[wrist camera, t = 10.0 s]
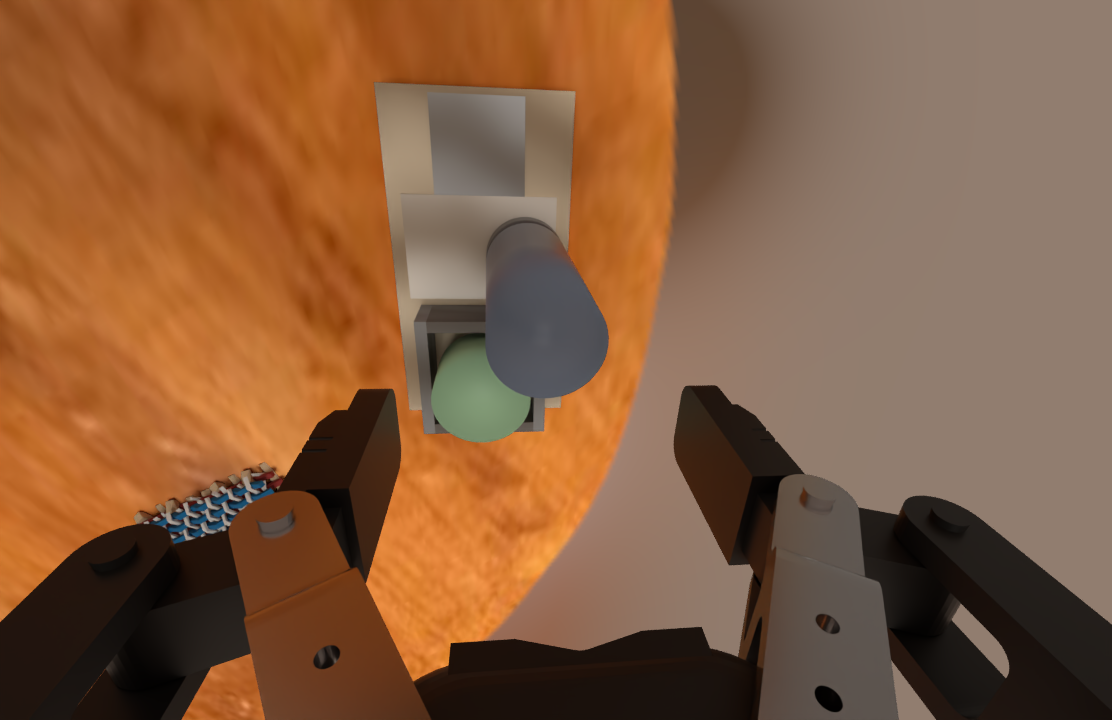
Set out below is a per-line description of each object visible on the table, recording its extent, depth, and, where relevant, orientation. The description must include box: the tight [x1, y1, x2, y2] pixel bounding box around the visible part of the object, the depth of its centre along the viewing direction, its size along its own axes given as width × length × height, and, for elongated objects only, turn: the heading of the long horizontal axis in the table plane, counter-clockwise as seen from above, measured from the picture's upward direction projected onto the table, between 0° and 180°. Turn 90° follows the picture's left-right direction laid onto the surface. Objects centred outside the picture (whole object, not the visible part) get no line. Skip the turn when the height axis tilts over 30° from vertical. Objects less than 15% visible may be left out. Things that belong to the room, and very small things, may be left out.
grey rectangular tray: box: [374, 82, 575, 434], centre depth 26 cm, size 17×9×4 cm, turn 178°
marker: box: [485, 217, 609, 398], centre depth 21 cm, size 4×4×11 cm
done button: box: [431, 333, 530, 442], centre depth 26 cm, size 5×5×3 cm
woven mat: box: [134, 462, 283, 544], centre depth 34 cm, size 10×11×2 cm
